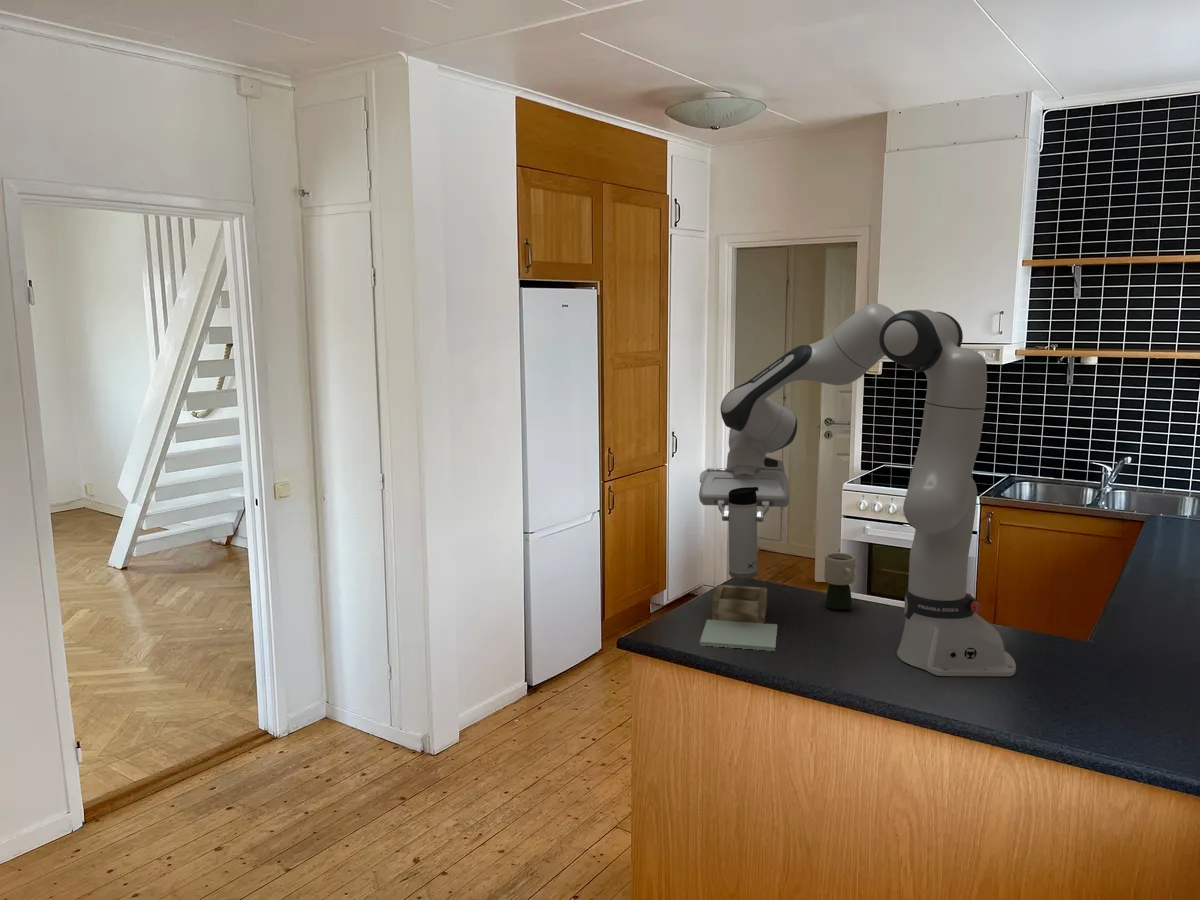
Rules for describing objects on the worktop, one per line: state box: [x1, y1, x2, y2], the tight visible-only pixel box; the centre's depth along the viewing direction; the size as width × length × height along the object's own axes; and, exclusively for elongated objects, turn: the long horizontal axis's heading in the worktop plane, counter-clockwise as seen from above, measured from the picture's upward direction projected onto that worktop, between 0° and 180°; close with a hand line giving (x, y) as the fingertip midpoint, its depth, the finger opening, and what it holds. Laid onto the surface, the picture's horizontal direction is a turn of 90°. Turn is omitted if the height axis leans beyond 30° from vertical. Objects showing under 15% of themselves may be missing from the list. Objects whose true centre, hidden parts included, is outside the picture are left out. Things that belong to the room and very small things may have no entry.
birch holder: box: [711, 584, 768, 624], centre depth 207 cm, size 12×12×5 cm
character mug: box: [823, 552, 856, 611], centre depth 210 cm, size 11×7×13 cm, turn 10°
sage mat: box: [699, 619, 778, 652], centre depth 193 cm, size 16×14×1 cm
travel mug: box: [727, 487, 758, 579], centre depth 194 cm, size 6×7×20 cm
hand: (742, 520), depth 193 cm, fingers closed on travel mug, 6 cm apart
